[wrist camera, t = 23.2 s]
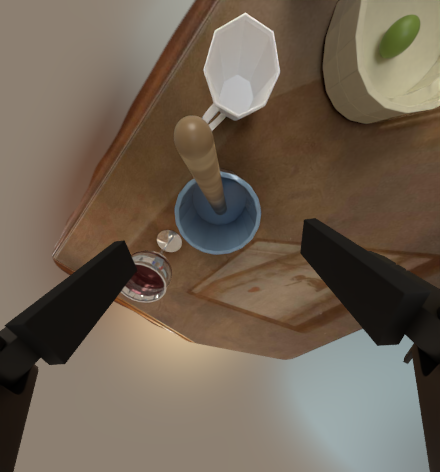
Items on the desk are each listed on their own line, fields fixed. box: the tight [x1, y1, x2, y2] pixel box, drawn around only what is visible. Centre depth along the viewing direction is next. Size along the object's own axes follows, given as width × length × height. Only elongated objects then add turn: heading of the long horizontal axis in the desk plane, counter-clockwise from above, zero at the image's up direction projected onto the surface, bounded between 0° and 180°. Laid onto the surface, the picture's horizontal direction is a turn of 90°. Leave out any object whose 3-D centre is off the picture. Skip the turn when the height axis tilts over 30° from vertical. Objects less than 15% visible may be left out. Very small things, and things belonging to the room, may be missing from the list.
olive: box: [379, 14, 420, 59], centre depth 17 cm, size 3×3×3 cm
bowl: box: [323, 0, 440, 124], centre depth 16 cm, size 16×16×6 cm
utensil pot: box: [175, 168, 261, 255], centre depth 23 cm, size 10×10×10 cm
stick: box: [174, 115, 227, 215], centre depth 17 cm, size 2×2×20 cm
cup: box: [202, 13, 280, 131], centre depth 18 cm, size 7×10×8 cm
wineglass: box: [121, 230, 182, 303], centre depth 26 cm, size 7×7×12 cm
